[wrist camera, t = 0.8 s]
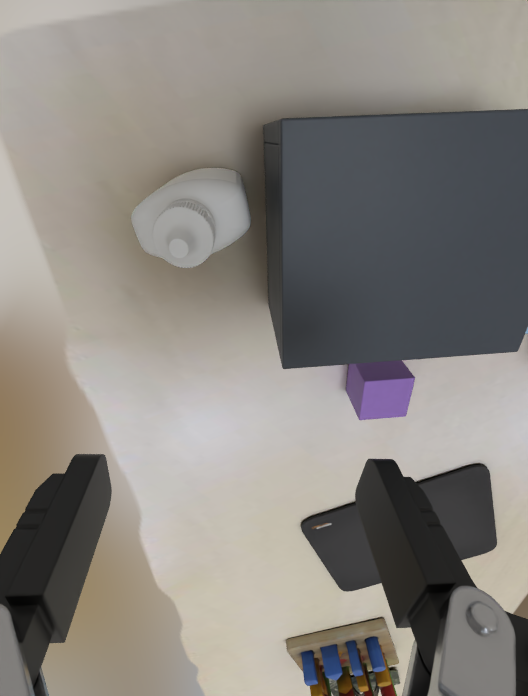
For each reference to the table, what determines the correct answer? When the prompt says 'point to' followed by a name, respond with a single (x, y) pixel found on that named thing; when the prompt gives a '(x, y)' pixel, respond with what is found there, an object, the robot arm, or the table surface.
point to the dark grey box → (397, 235)
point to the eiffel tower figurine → (356, 690)
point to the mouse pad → (447, 501)
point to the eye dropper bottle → (193, 216)
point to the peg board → (346, 658)
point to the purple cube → (379, 389)
